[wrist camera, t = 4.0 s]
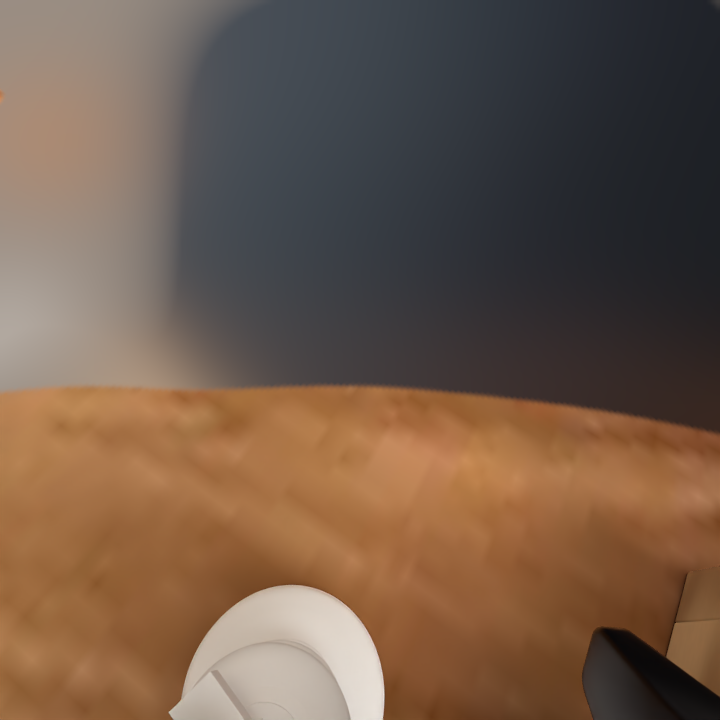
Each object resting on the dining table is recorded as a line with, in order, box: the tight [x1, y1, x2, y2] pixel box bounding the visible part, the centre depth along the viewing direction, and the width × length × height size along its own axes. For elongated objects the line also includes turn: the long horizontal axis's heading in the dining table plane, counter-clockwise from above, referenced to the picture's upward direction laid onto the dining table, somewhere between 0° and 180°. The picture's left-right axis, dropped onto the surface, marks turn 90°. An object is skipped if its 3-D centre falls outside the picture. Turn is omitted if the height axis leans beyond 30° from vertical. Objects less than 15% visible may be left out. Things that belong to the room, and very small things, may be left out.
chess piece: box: [169, 585, 384, 720], centre depth 8 cm, size 5×5×10 cm
